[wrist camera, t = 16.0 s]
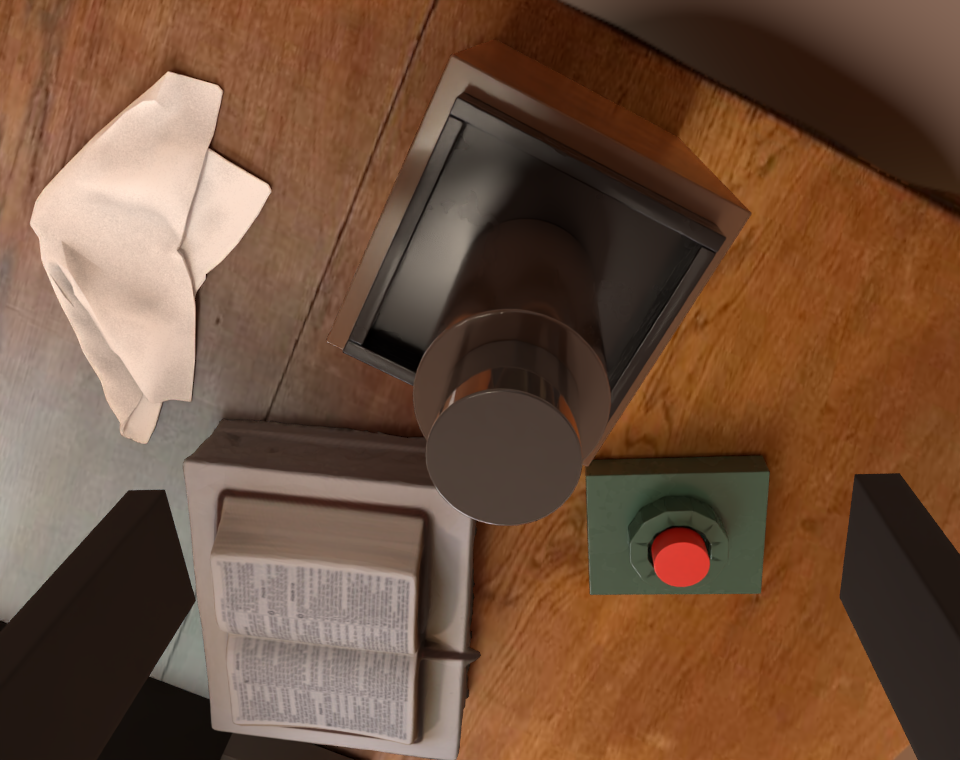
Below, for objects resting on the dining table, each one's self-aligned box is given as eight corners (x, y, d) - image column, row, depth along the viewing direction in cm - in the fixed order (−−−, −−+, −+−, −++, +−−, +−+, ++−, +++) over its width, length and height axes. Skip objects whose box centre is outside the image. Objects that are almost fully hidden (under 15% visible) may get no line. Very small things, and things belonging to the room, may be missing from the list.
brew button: (706, 526, 53) (711, 541, 52) (704, 570, 55) (709, 587, 53) (651, 527, 54) (654, 542, 52) (651, 571, 55) (653, 587, 54)
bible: (547, 460, 57) (545, 544, 48) (458, 727, 68) (442, 835, 59) (225, 374, 56) (161, 442, 47) (188, 657, 67) (131, 755, 58)
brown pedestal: (678, 136, 47) (765, 226, 27) (578, 309, 52) (589, 493, 32) (494, 38, 46) (443, 56, 26) (409, 224, 51) (311, 361, 31)
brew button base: (762, 455, 55) (776, 486, 51) (754, 574, 59) (767, 611, 55) (584, 459, 56) (586, 490, 53) (588, 575, 60) (590, 611, 57)
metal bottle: (593, 213, 29) (617, 350, 17) (597, 348, 31) (619, 553, 19) (450, 222, 29) (376, 360, 18) (463, 354, 32) (405, 555, 20)
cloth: (92, 15, 47) (71, 15, 45) (305, 133, 49) (293, 138, 47) (-9, 367, 58) (-31, 380, 56) (168, 454, 59) (154, 470, 57)
